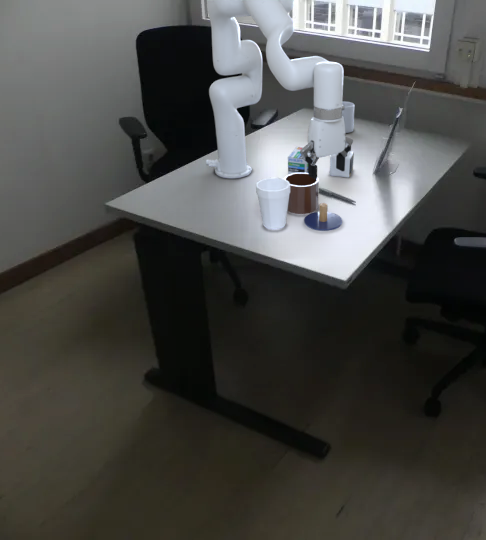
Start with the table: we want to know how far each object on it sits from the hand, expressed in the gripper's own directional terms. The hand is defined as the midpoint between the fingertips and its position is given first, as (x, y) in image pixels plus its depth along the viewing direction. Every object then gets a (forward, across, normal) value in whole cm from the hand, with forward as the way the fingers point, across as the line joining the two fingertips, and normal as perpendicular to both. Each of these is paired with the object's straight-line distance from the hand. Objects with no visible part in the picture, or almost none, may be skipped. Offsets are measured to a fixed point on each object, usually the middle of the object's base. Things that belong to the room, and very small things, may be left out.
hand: (326, 173), depth 149 cm
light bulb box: (+15, -10, -27) cm, 32 cm away
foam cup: (+15, +14, -6) cm, 22 cm away
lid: (+14, +2, +1) cm, 14 cm away
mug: (+15, -56, -64) cm, 86 cm away
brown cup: (+15, +1, -11) cm, 19 cm away
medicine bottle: (+15, -27, -26) cm, 40 cm away
